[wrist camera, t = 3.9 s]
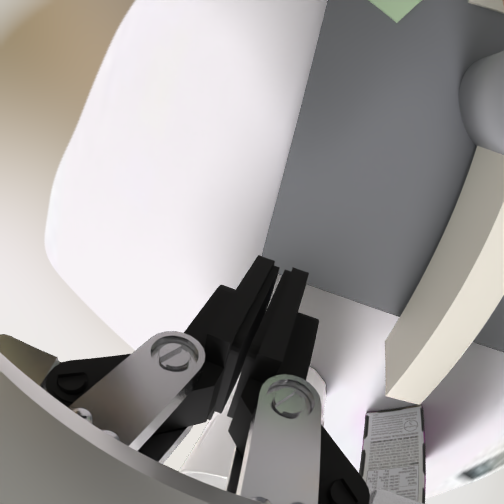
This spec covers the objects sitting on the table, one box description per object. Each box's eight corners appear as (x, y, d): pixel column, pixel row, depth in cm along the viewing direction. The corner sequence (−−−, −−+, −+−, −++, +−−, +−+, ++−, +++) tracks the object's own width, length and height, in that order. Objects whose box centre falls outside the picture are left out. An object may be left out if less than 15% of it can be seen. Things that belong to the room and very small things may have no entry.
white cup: (222, 344, 22) (154, 456, 13) (333, 349, 19) (302, 490, 11) (244, 410, 25) (200, 506, 16) (335, 418, 22) (310, 528, 14)
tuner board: (350, -78, 8) (348, -91, 7) (610, 72, 5) (622, 72, 4) (264, 257, 18) (257, 268, 17) (510, 344, 15) (516, 358, 14)
